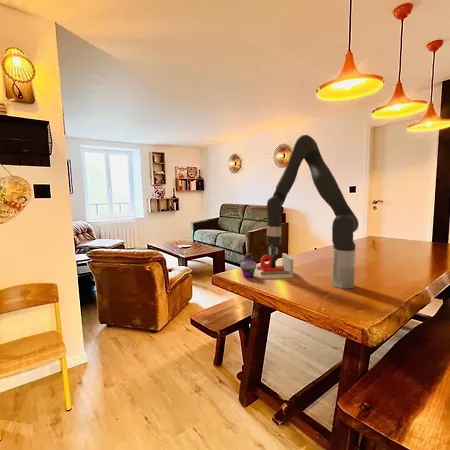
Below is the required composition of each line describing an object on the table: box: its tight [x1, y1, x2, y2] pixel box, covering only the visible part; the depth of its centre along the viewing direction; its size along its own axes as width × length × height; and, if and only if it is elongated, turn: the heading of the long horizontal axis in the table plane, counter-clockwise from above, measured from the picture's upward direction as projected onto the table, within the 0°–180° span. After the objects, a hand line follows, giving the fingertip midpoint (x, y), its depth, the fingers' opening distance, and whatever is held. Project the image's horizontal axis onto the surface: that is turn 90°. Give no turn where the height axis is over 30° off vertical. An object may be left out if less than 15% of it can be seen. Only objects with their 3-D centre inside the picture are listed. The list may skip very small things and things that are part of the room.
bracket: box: [259, 254, 285, 271], centre depth 150 cm, size 12×4×8 cm, turn 103°
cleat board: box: [255, 252, 294, 280], centre depth 151 cm, size 14×16×10 cm
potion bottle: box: [240, 252, 258, 279], centre depth 147 cm, size 9×9×12 cm
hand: (272, 266), depth 152 cm, fingers closed on bracket
